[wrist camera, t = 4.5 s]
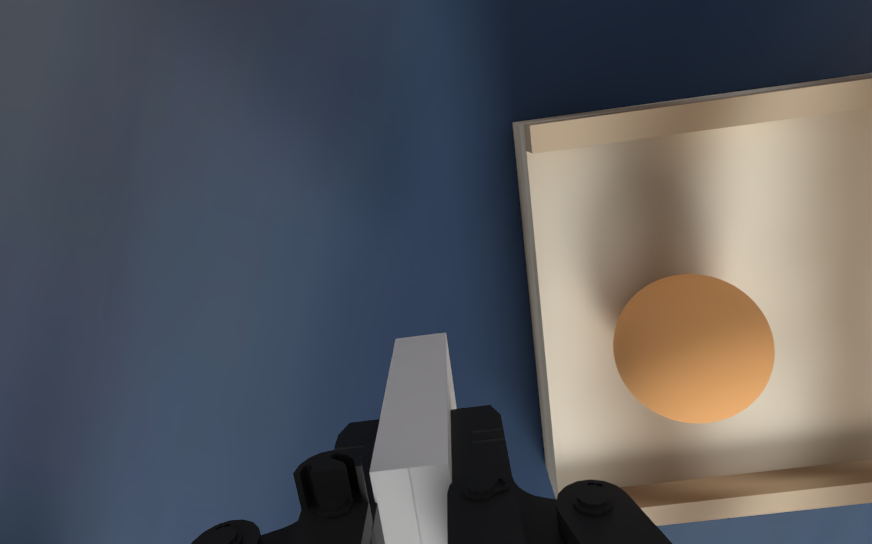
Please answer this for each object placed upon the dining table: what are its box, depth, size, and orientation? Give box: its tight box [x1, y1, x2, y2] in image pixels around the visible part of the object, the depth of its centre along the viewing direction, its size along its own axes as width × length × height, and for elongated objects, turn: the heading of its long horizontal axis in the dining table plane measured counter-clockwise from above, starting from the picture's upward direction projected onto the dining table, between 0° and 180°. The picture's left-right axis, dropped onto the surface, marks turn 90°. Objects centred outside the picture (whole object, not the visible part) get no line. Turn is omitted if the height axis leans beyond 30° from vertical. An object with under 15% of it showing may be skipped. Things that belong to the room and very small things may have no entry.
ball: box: [613, 274, 775, 424], centre depth 18 cm, size 4×4×4 cm
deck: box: [512, 73, 872, 526], centre depth 20 cm, size 20×14×4 cm
